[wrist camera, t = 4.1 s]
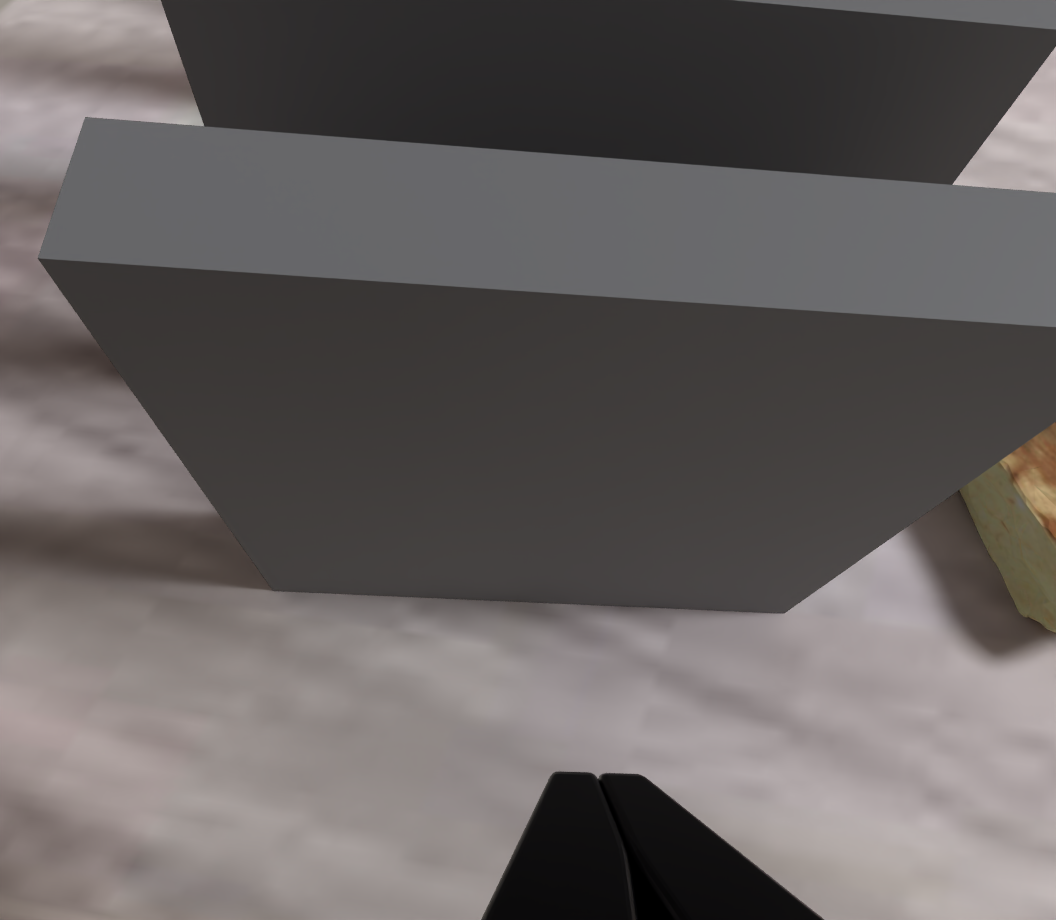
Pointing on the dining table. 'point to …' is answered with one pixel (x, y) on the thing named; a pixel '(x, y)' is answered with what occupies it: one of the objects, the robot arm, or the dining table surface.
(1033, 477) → the shard
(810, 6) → the domino
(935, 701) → the dining table surface
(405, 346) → the domino
